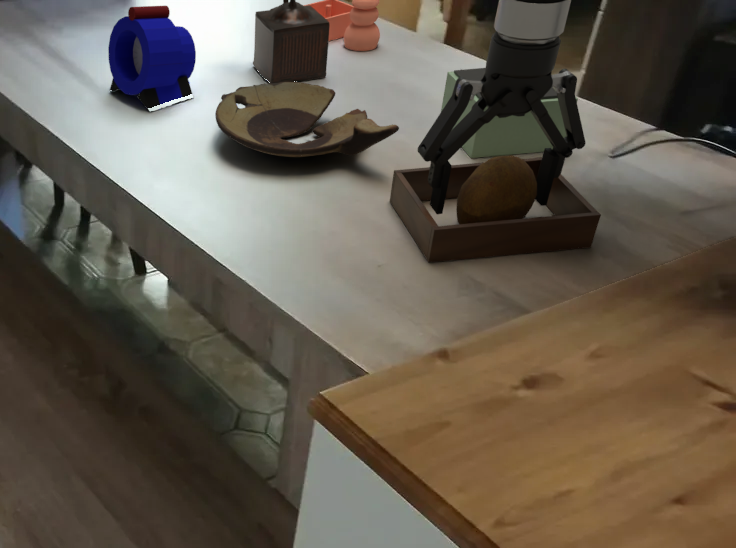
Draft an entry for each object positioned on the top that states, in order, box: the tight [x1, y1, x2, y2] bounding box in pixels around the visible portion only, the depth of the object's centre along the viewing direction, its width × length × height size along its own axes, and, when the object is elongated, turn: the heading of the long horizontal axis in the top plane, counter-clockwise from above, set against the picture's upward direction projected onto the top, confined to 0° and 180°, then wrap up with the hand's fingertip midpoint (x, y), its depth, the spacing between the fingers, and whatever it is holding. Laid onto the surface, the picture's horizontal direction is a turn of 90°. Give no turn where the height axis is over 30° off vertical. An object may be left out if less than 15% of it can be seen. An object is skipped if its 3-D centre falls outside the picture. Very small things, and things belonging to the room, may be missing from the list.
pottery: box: [302, 0, 381, 52], centre depth 173 cm, size 18×10×10 cm, turn 30°
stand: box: [440, 67, 579, 159], centre depth 138 cm, size 14×14×8 cm
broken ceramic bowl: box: [214, 81, 400, 158], centre depth 138 cm, size 22×30×8 cm
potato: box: [455, 154, 537, 224], centre depth 118 cm, size 8×12×9 cm
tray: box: [389, 156, 602, 263], centre depth 120 cm, size 17×21×4 cm
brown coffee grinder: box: [252, 0, 330, 83], centre depth 159 cm, size 16×11×18 cm
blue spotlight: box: [107, 5, 197, 109], centre depth 155 cm, size 12×12×15 cm
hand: (487, 205), depth 119 cm, fingers open, 13 cm apart
